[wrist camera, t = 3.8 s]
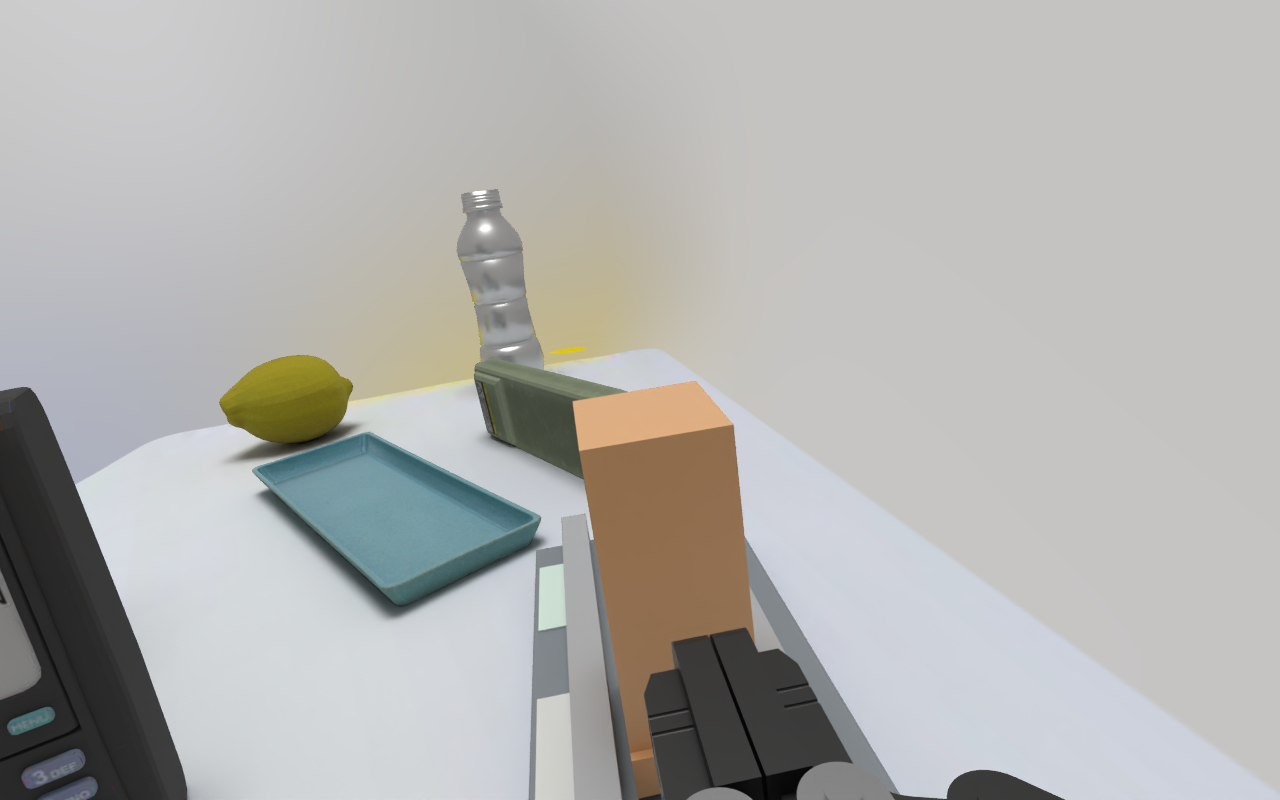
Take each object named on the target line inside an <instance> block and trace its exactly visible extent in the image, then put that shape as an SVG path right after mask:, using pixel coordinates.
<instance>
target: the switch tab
mask: <svg viewBox="0 0 1280 800" xmlns="http://www.w3.org/2000/svg"><path fill="white" fill-rule="evenodd" d="M573 409H574V416H575V424H576V431H577V439H578V446H579V453H580V459H581V465H582V471H583V477H584V483H585V488H586V494H587V500H588V506H589V512H590V518H591V524H592V530H593V536H594V542H595V547H596V553H597V559H598V565H599V571H600V577H601V583H602V589H603V595H604V601H605V606H606V612H607V618H608V624H609V630H610V636H611V642H612V648H613V654H614V660H615V665H616V671H617V677H618V683H619V689H620V695H621V701H622V707H623V713H624V719H625V724H626V730H627V736H628V742H629V748H630V754H631V761H632V767H633V772H634V778H635V784H636V790H637V796H638V799H639V798H644V797H648V796H653V795H657V794H661V792H660V787H659V781H658V777H657V772H656V766H655V761H654V756H653V749H652V743H651V737H650V730H649V724H648V718H647V711H646V705H645V699H644V693H645V690H646V687H647V684H648V681H649V678H650V675H651V674H653V673H658V672H663V671H668V670H673V669H675V668H674V661H673V654H672V645H671V642H673V641H678V640H683V639H688V638H693V637H698V636H703V635H708V637H709V635H710V634H714V633H719V632H724V631H729V630H734V629H739V628H744V627H746V628H747V630H748V632H749V634H750V636H751V638H752V640H753V642H754V644H755V638H754V628H753V618H752V607H751V597H750V587H749V577H748V567H747V557H746V547H745V537H744V527H743V517H742V507H741V496H740V486H739V476H738V466H737V456H736V446H735V436H734V426H733V424H732V422H731V421H730V420H729V419H728V418H727V417H726V415H725V414H724V413H723V412H722V411H721V410H720V408H719V407H718V406H717V405H716V404H715V403H714V401H713V400H712V399H711V398H710V397H709V396H708V395H707V393H706V392H705V391H704V390H703V389H702V388H701V386H700V385H699V384H698V383H697V382H696V381H693V382H687V383H681V384H675V385H668V386H662V387H656V388H650V389H644V390H638V391H632V392H626V393H620V394H614V395H608V396H602V397H596V398H589V399H583V400H577V401H573Z"/></svg>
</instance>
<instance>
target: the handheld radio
mask: <svg viewBox="0 0 1280 800" xmlns="http://www.w3.org/2000/svg"><path fill="white" fill-rule="evenodd" d="M474 380H475V384H476V388H477V392H478V396H479V400H480V404H481V408H482V412H483V416H484V420H485V424H486V428H487V431H488V433H490V434H491V435H492V436H494V437H496V438H498V439H500V440H502V441H504V442H507V443H509V444H511V445H513V446H515V447H517V448H519V449H521V450H523V451H525V452H528V453H530V454H532V455H534V456H536V457H538V458H540V459H542V460H544V461H547V462H549V463H551V464H553V465H555V466H557V467H559V468H561V469H563V470H565V471H568V472H570V473H572V474H574V475H576V476H578V477H580V478H582V479H584V477H583V471H582V465H581V459H580V453H579V446H578V439H577V431H576V424H575V416H574V409H573V401H577V400H583V399H589V398H596V397H602V396H608V395H614V394H620V393H626V392H627V391H624V390H621V389H617V388H613V387H609V386H605V385H601V384H597V383H593V382H589V381H585V380H581V379H577V378H573V377H569V376H565V375H561V374H557V373H553V372H549V371H545V370H541V369H537V368H532V367H528V366H524V365H520V364H516V363H512V362H508V361H504V360H500V359H496V358H491V359H488V360H485V361H482V362H480V363H477V364H476V365H475V374H474Z"/></svg>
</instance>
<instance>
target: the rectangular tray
mask: <svg viewBox="0 0 1280 800" xmlns="http://www.w3.org/2000/svg"><path fill="white" fill-rule="evenodd" d="M252 472H253V473H254V474H255V475H256V476H257V477H258V478H259V479H260V480H261V481H262V482H263V483H264V484H265V485H266V486H267V487H268V488H269V489H270V490H271V491H273V492H274V493H275V494H276V495H277V496H278V497H279V498H280V499H281V500H282V501H283V502H284V503H285V504H286V505H288V506H289V507H290V508H291V509H292V510H293V511H294V512H295V513H296V514H297V515H298V516H299V517H300V518H301V519H302V520H303V521H305V522H306V523H307V524H308V525H309V526H310V527H311V528H312V529H313V530H314V531H316V532H317V533H318V534H319V535H320V536H321V537H322V538H323V539H324V540H325V541H326V542H328V543H329V544H330V545H331V546H332V547H333V548H334V549H335V550H336V551H337V552H339V553H340V554H341V555H342V556H343V557H344V558H345V559H346V560H348V561H349V562H350V563H351V564H352V565H353V566H354V567H355V568H356V569H357V570H359V571H360V572H361V573H362V574H363V575H364V576H365V577H366V578H367V579H368V580H370V581H371V582H372V583H373V584H374V585H375V586H376V587H377V588H378V589H379V590H380V591H382V592H383V593H384V594H385V595H386V596H387V597H388V598H389V599H390V600H391V601H392V602H393V603H394V604H395V605H398V606H404V605H408V604H410V603H412V602H414V601H416V600H418V599H420V598H422V597H424V596H426V595H428V594H430V593H432V592H434V591H436V590H438V589H440V588H442V587H444V586H446V585H448V584H450V583H452V582H454V581H456V580H458V579H460V578H462V577H465V576H467V575H469V574H471V573H473V572H475V571H477V570H479V569H481V568H483V567H485V566H487V565H489V564H491V563H493V562H495V561H497V560H500V559H502V558H504V557H506V556H508V555H510V554H512V553H514V552H516V551H518V550H520V549H522V548H525V547H526V546H528V545H529V544H530V542H531V540H532V539H533V537H534V535H535V533H536V531H537V528H538V526H539V524H540V521H541V517H540V516H539V515H538V514H535V513H533V512H531V511H529V510H527V509H525V508H523V507H521V506H519V505H517V504H514V503H512V502H510V501H508V500H506V499H504V498H502V497H500V496H498V495H496V494H494V493H492V492H490V491H488V490H485V489H483V488H481V487H479V486H477V485H475V484H473V483H471V482H469V481H467V480H465V479H463V478H461V477H459V476H457V475H455V474H453V473H450V472H449V471H447V470H445V469H443V468H441V467H439V466H436V465H435V464H433V463H431V462H428V461H427V460H424V459H422V458H421V457H418V456H416V455H414V454H412V453H410V452H408V451H406V450H404V449H402V448H400V447H398V446H396V445H394V444H392V443H390V442H388V441H386V440H384V439H383V438H381V437H379V436H377V435H375V434H373V433H371V432H366V433H361V434H358V435H355V436H352V437H349V438H346V439H343V440H339V441H336V442H333V443H330V444H327V445H323V446H320V447H317V448H314V449H311V450H308V451H305V452H302V453H299V454H295V455H292V456H289V457H286V458H283V459H280V460H277V461H274V462H271V463H267V464H264V465H261V466H258V467H255V468H254V469H253V470H252Z"/></svg>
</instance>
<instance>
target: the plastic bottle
mask: <svg viewBox="0 0 1280 800" xmlns="http://www.w3.org/2000/svg"><path fill="white" fill-rule="evenodd" d="M461 198H462V204H463V213H466V214H467V221H466V223H465V225H464V227H463V229H462V231H461V234H460V236H459V239H458V242H457V253H458V257H459V260H460V261H461V266H462V269H463V271H464V274H465V276H466V280H467V282H468V285H469V288H470V291H471V296H472V299H473V302H474V304H475V306H474V307H475V311H476V314H477V321H478V328H479V337H480V345H481V348H480V358H481V362H482V361H485V360H488V359H491V358H496V359H500V360H504V361H508V362H512V363H516V364H520V365H524V366H528V367H532V368H537V369H541V370H544V355H543V352H542V349H541V346H540V343H539V341H538V339H537V338H536V334H535V330H534V327H533V323H532V320H531V316H530V312H529V309H528V304H527V298H526V294H525V293H526V289H525V281H524V267H523V254H522V250H523V249H522V241H521V239H520V237H519V235H518V233H517V232H516V231H515V229H514V228H513V227H512V226H511V224H510V223H509V222H508V221H507V220H506V219H505V218H504V217H503V216H502V215H501V213H500V208H502V203H501V202H500V196H499V191H498V189H495V190H485V191H478V192H471V193H464V194H461Z"/></svg>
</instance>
